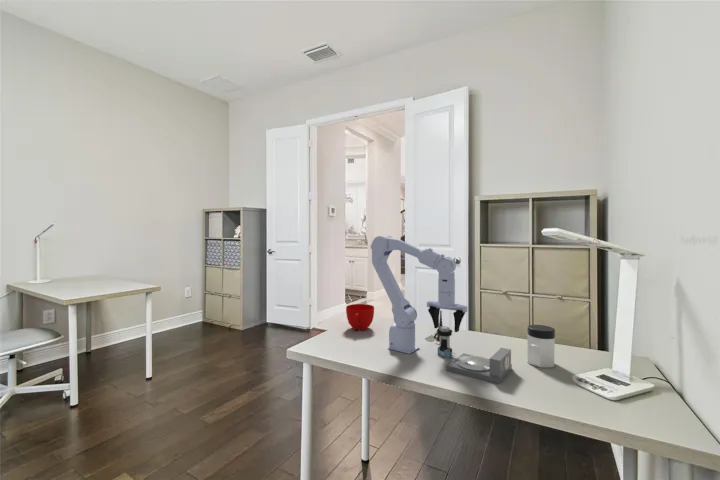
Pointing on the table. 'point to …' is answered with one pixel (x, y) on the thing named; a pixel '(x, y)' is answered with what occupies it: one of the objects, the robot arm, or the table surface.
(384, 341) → the table surface
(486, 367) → the postal scale
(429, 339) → the eiffel tower figurine
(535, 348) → the jar
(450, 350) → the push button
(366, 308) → the ceramic cup
